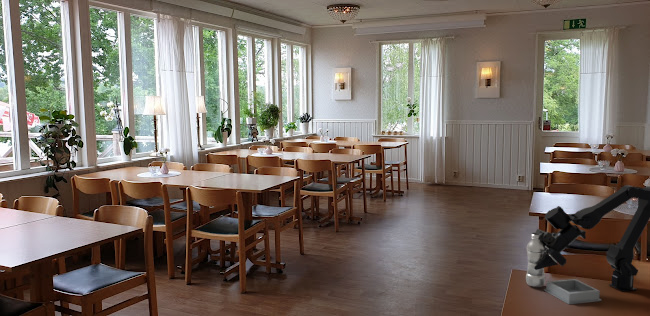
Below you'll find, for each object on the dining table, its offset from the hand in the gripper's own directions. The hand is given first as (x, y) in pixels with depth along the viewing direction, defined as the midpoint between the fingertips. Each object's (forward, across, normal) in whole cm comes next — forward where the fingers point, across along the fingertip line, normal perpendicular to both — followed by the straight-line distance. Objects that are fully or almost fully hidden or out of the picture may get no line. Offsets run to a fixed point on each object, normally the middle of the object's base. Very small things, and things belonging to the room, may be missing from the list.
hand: (532, 266), depth 186 cm
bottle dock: (-3, +8, +13) cm, 16 cm away
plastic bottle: (+4, 0, +6) cm, 8 cm away
